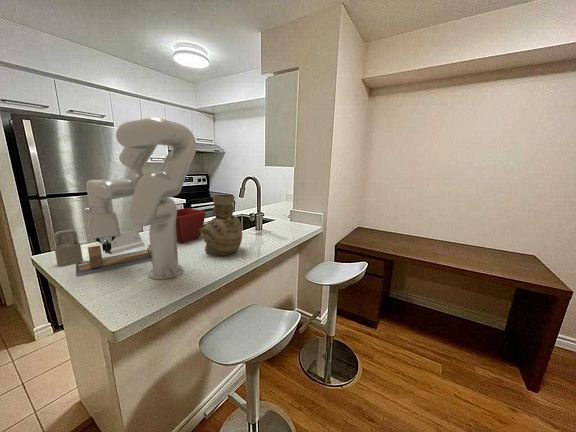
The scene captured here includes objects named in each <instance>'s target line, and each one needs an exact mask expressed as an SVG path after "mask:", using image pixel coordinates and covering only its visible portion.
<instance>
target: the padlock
mask: <svg viewBox="0 0 576 432" xmlns="http://www.w3.org/2000/svg"><path fill="white" fill-rule="evenodd" d="M65 234H72V239H73V242H72V243H67V244H61V245H60V235H65ZM53 239H54V242H55V245H57V246H54V247H53V248H54V253H55V259H56V263H57V266H58V267H63V266H68V265H73V264H76V263H77V262H83V261H84V258H83V252H82V246H81V243H80V242H79V239H78V232H77V230H74V229H66V230H61V231H60V230H59V231H56V232H55V233H54V235H53Z"/></svg>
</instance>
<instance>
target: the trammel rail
mask: <svg viewBox="0 0 576 432" xmlns="http://www.w3.org/2000/svg"><path fill="white" fill-rule="evenodd" d="M146 248H147V249H146V250H147V252H142V253H137V254H131V255H126V256H121V257H115V258H110V259H105V260H102V261H103V266H105V265H110V264H115V263H120V262H125V261H130V260H135V259H139V258H144V257H151V247H150V244H148V247H146ZM90 268H91V265H90V262H89V263H83V264H79V271H80V270H85V269H90Z"/></svg>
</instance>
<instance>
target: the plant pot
mask: <svg viewBox="0 0 576 432" xmlns="http://www.w3.org/2000/svg"><path fill="white" fill-rule="evenodd" d="M205 218H206V210H200V209H194V208H188V207H186V208H185V207H184V208H179V209H178V208H177V216H176V238H177V244H178V243H179V244H184V242H185V243H187V242H190V241H191V242H192V241H195V240H198V239H199V238H200V232H199V229H200V228H202V227H204V224H205V220H206V219H205Z"/></svg>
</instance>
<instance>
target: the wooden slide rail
mask: <svg viewBox="0 0 576 432" xmlns="http://www.w3.org/2000/svg"><path fill="white" fill-rule="evenodd" d="M142 252H147V249H143V250H137V251H133V252H128V253H122V254H117V255H112V256H111V255H110V256H106V257H102V260H105V259H110V258H115V257H121V256H126V255H131V254H137V253H142ZM89 262H90V259H89V260H88V259H87V260H83V261H80V262H77V263H75V275H76V277H82V276H87V275H90V274H91V275H92V274H96V273H100V272H105V271H109V270H115V269H119V268H123V267H129V266H133V265H137V264H143V263H147V262H152V257H144V258H139V259H135V260H130V261H125V262H120V263H115V264H110V265H105V266H101V267H96V268H90V269H85V270H80V271H79V264H83V263H89Z"/></svg>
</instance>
